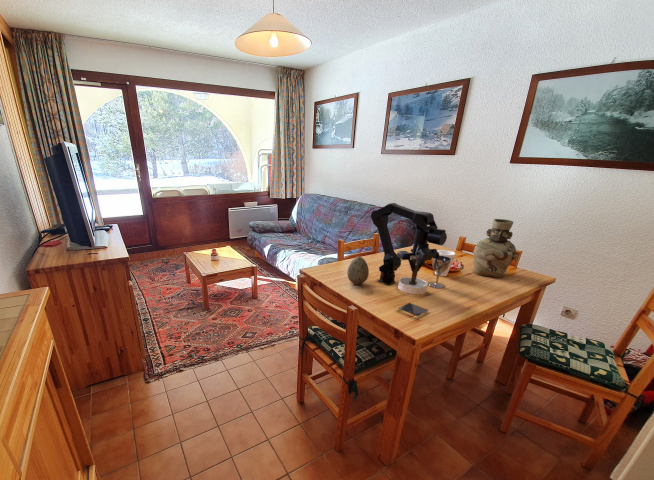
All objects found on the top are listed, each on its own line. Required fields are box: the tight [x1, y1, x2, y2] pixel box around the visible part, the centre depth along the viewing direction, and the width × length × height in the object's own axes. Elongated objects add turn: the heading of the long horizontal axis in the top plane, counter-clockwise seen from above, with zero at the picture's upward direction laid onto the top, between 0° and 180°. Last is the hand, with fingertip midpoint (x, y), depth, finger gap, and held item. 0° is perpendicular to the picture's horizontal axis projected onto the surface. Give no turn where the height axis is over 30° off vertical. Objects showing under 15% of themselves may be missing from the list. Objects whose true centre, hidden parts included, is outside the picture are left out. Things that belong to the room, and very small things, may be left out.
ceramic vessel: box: [473, 218, 520, 279], centre depth 171 cm, size 19×21×30 cm
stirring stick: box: [409, 264, 419, 285], centre depth 151 cm, size 4×4×10 cm
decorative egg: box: [346, 256, 370, 286], centre depth 160 cm, size 11×11×15 cm
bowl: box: [397, 276, 429, 295], centre depth 153 cm, size 13×13×5 cm
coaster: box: [398, 302, 429, 317], centre depth 134 cm, size 9×9×2 cm
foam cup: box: [434, 249, 456, 277], centre depth 173 cm, size 10×9×13 cm
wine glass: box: [428, 256, 451, 289], centre depth 158 cm, size 8×8×15 cm
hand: (414, 271), depth 150 cm, fingers closed on stirring stick, 2 cm apart
